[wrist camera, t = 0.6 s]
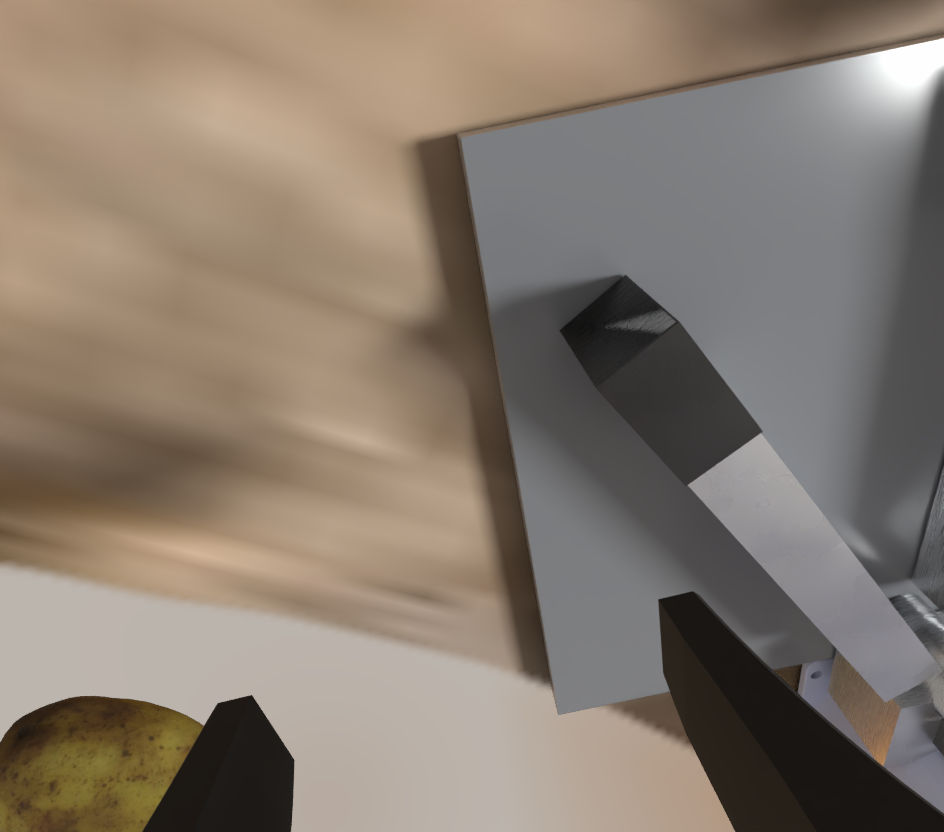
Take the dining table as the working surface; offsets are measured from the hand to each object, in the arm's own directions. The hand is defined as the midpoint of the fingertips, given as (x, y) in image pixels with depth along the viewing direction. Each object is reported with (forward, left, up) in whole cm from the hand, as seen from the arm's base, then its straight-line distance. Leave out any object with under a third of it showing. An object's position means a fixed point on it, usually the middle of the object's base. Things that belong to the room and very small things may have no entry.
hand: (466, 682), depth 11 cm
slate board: (-4, -12, -10) cm, 16 cm away
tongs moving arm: (-5, -10, -9) cm, 14 cm away
